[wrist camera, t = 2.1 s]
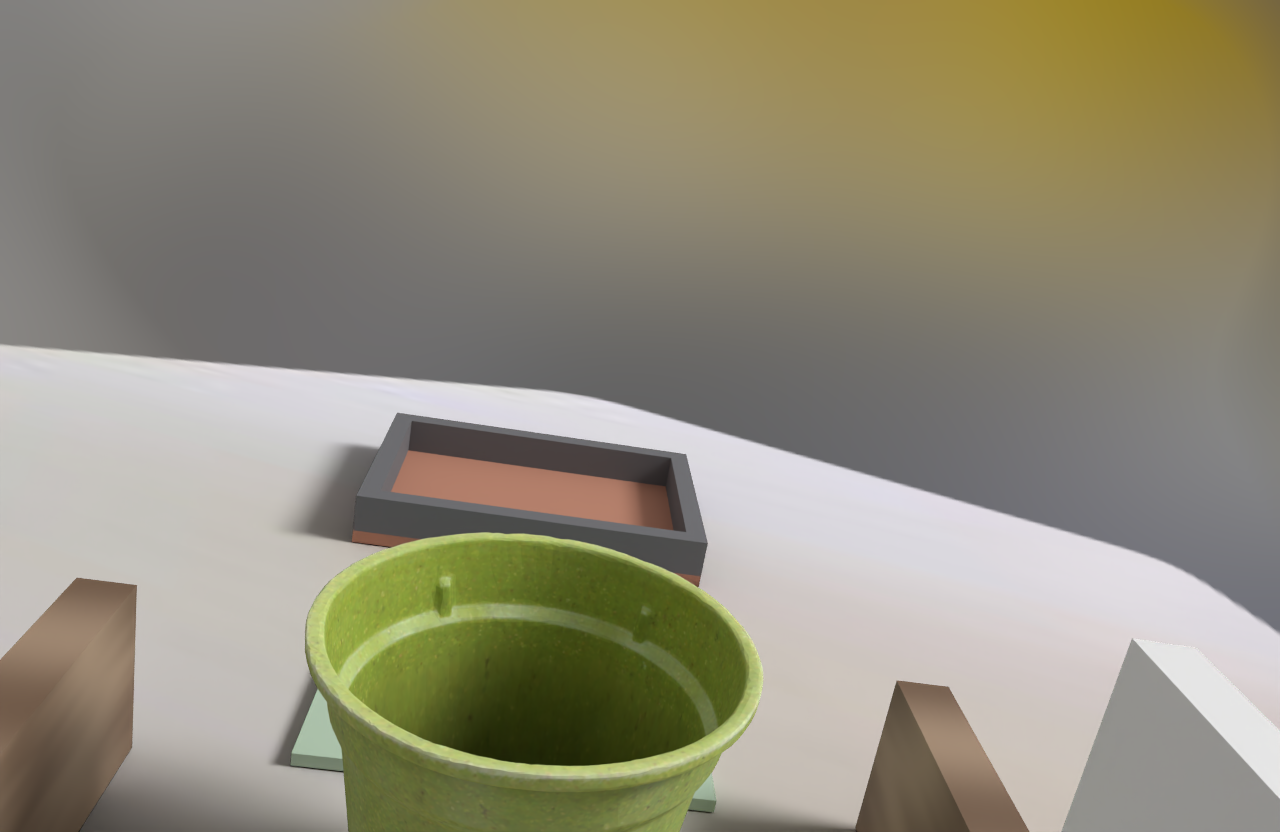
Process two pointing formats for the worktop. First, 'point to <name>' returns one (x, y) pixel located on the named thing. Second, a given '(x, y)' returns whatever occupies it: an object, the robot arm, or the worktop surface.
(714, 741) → the plant pot
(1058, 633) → the worktop surface
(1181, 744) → the robot arm
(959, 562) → the worktop surface
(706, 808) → the pad
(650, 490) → the tray
